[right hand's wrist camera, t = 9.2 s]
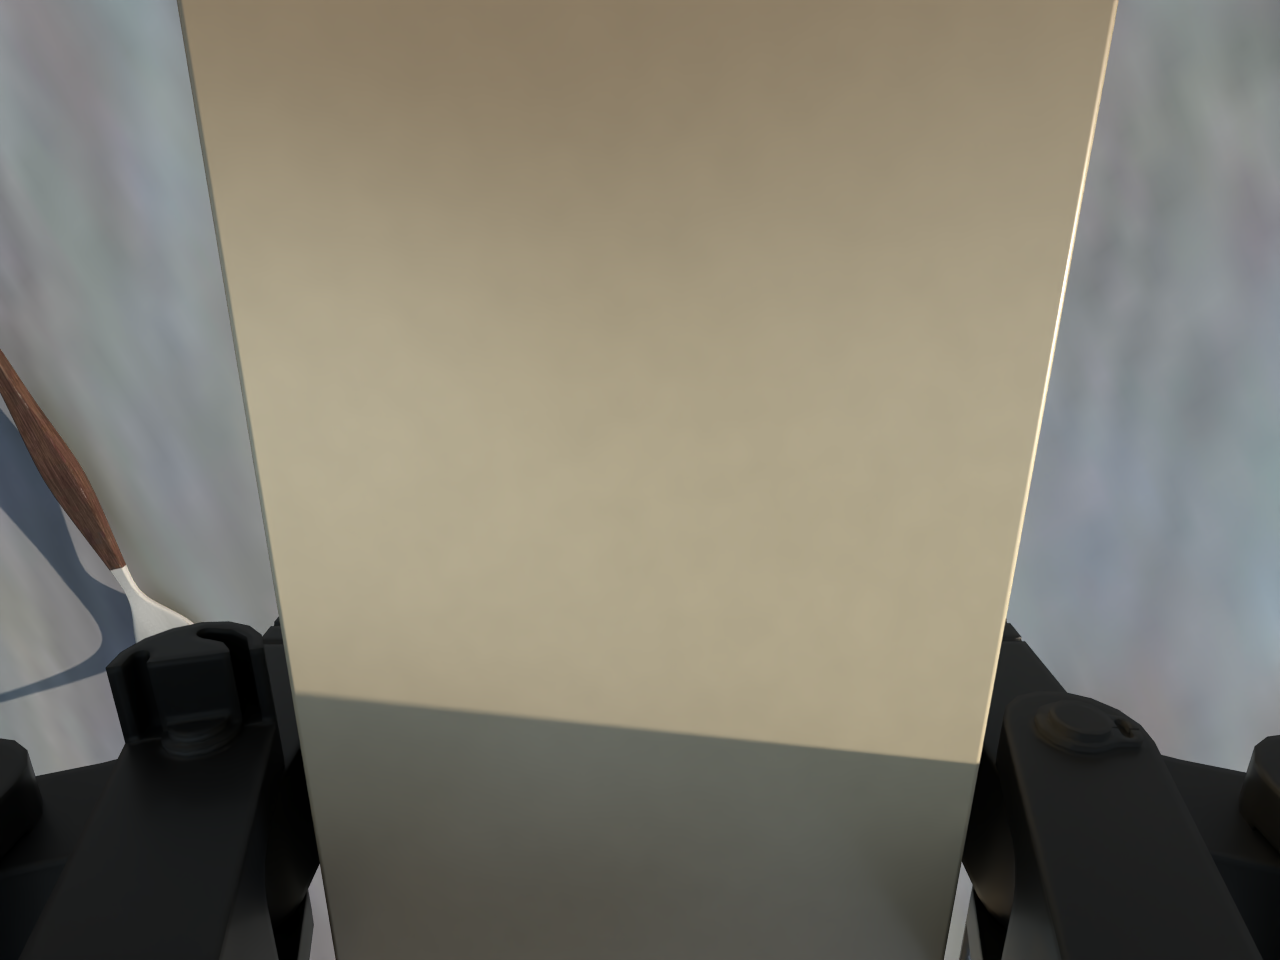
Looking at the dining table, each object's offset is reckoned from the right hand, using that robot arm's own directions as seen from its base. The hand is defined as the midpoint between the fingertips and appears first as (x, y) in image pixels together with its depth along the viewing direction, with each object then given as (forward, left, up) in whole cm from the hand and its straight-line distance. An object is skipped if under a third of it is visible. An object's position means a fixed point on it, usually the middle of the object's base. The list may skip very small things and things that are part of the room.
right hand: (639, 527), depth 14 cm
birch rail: (+7, +11, -1) cm, 13 cm away
